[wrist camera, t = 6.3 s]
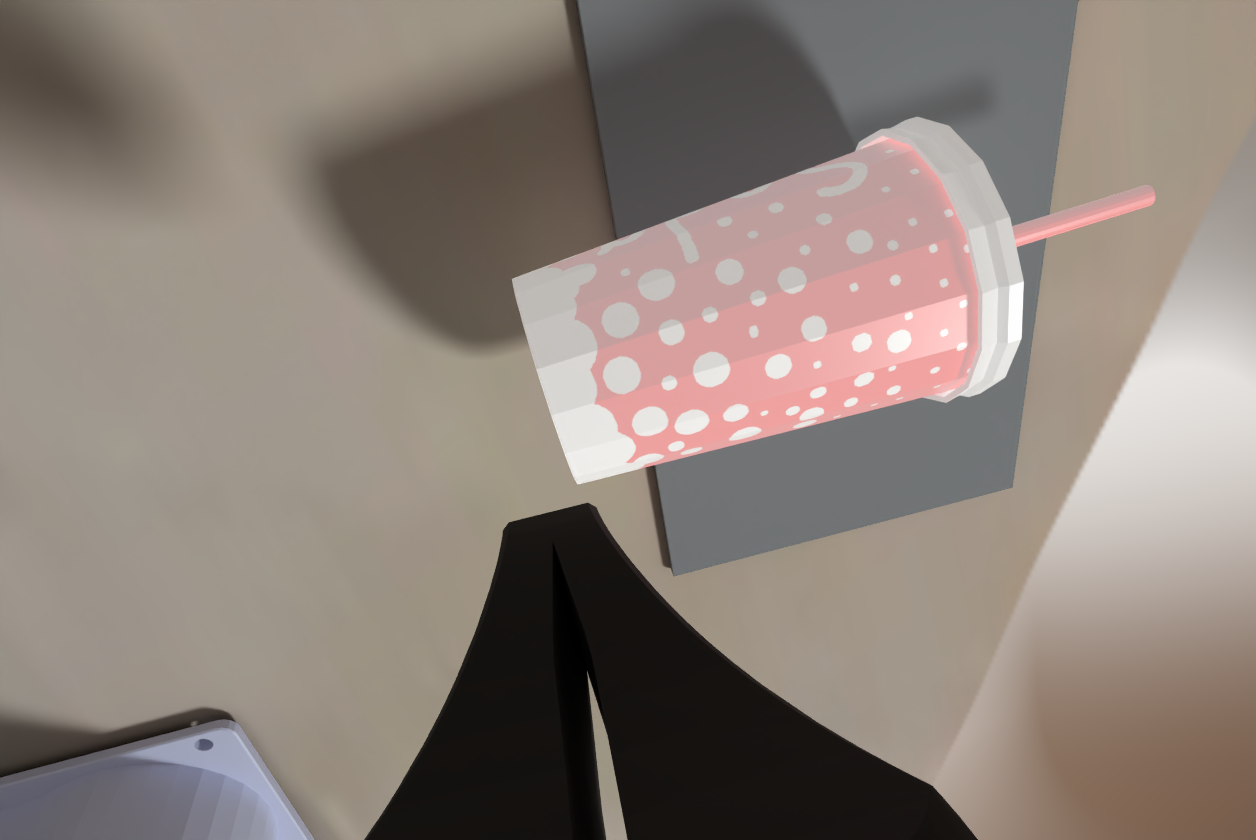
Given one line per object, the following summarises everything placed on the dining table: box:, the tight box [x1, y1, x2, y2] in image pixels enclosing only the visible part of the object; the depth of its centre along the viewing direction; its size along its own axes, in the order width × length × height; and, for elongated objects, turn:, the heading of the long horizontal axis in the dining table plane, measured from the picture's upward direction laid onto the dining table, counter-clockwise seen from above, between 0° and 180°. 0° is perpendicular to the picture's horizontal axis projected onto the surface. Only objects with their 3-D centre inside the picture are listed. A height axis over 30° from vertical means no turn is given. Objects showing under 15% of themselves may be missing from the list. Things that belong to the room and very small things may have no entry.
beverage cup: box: [512, 117, 1155, 484], centre depth 17 cm, size 6×6×14 cm
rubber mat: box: [576, 0, 1078, 576], centre depth 20 cm, size 12×17×1 cm
